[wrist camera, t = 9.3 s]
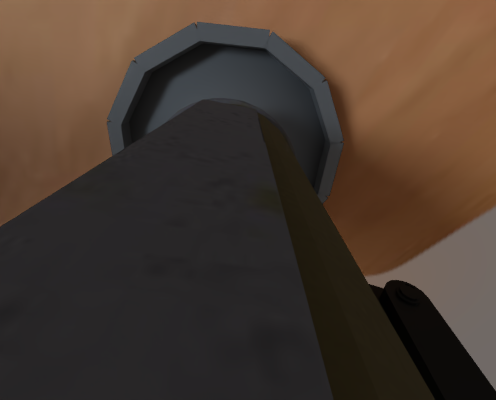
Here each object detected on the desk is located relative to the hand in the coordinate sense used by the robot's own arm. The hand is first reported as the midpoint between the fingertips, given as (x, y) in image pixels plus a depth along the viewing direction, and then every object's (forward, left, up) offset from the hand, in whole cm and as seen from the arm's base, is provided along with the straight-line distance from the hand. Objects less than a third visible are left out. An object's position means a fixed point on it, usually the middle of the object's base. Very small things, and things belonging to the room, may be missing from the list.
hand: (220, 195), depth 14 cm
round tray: (0, 0, -8) cm, 8 cm away
